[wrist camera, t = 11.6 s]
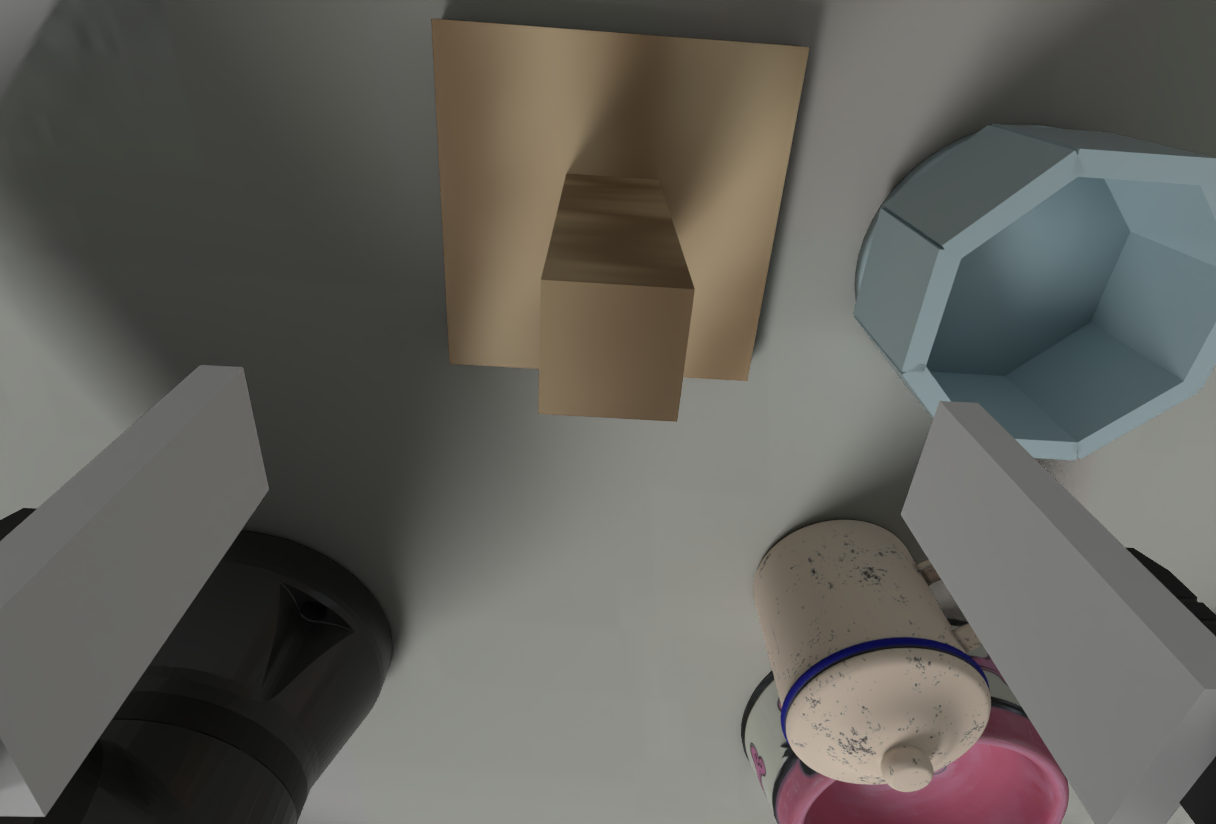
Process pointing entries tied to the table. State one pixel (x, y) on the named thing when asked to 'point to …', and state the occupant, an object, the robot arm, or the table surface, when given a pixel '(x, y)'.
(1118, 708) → the robot arm
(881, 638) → the teacup with lid
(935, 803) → the dog bowl
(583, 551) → the table surface
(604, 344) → the oak lid
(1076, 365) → the ceramic bowl
